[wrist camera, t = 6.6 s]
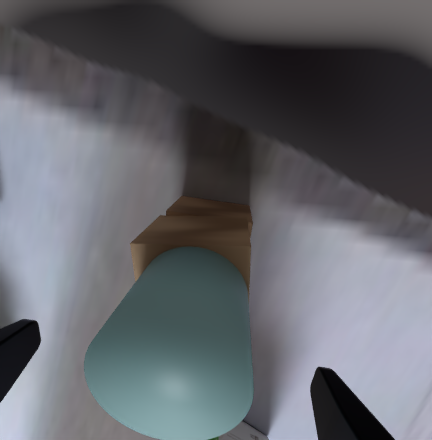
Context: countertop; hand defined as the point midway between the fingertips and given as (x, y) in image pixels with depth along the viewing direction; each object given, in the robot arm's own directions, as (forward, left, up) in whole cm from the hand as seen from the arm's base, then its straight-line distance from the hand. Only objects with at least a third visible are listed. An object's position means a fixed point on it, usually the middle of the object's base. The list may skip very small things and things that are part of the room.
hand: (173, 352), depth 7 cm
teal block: (0, 0, -3) cm, 3 cm away
